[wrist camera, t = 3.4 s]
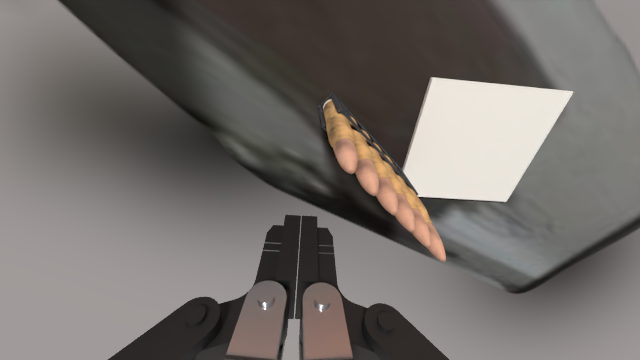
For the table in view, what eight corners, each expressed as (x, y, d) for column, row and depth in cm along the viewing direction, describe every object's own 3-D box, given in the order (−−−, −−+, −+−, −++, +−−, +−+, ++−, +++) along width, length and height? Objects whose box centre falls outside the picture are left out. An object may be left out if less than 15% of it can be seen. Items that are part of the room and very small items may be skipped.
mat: (394, 193, 26) (396, 195, 26) (430, 77, 20) (432, 77, 20) (503, 199, 27) (506, 201, 27) (569, 91, 21) (573, 91, 21)
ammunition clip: (401, 168, 25) (465, 261, 14) (386, 179, 25) (438, 275, 15) (332, 92, 21) (354, 146, 10) (317, 107, 21) (323, 172, 11)
